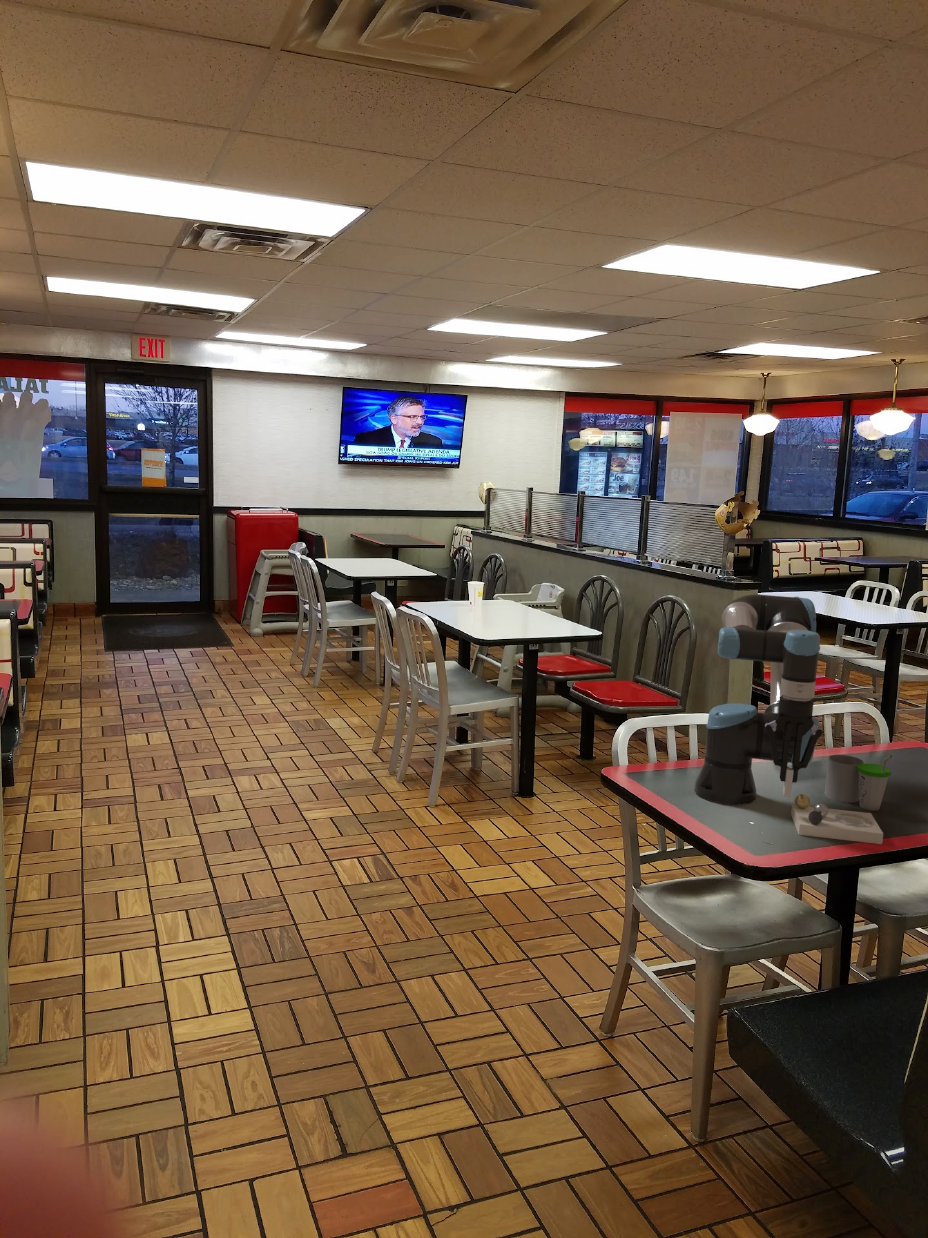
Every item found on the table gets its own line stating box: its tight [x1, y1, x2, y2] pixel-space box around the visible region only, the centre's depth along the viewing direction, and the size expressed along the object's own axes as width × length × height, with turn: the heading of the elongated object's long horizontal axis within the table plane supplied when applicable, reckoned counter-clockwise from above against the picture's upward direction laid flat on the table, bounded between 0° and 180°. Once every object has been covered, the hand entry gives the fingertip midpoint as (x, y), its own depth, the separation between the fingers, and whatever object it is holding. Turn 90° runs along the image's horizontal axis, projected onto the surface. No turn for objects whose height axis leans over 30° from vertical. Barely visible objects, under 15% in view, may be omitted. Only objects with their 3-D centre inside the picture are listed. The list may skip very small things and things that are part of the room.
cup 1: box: [824, 754, 865, 804], centre depth 240 cm, size 8×8×10 cm
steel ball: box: [813, 803, 829, 817], centre depth 218 cm, size 3×3×3 cm
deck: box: [790, 804, 884, 845], centre depth 218 cm, size 18×13×2 cm
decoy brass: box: [794, 793, 811, 809], centre depth 224 cm, size 3×3×3 cm
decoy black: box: [808, 811, 822, 824], centre depth 214 cm, size 3×3×3 cm
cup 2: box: [857, 754, 893, 812], centre depth 232 cm, size 8×8×15 cm
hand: (786, 794), depth 219 cm, fingers closed
